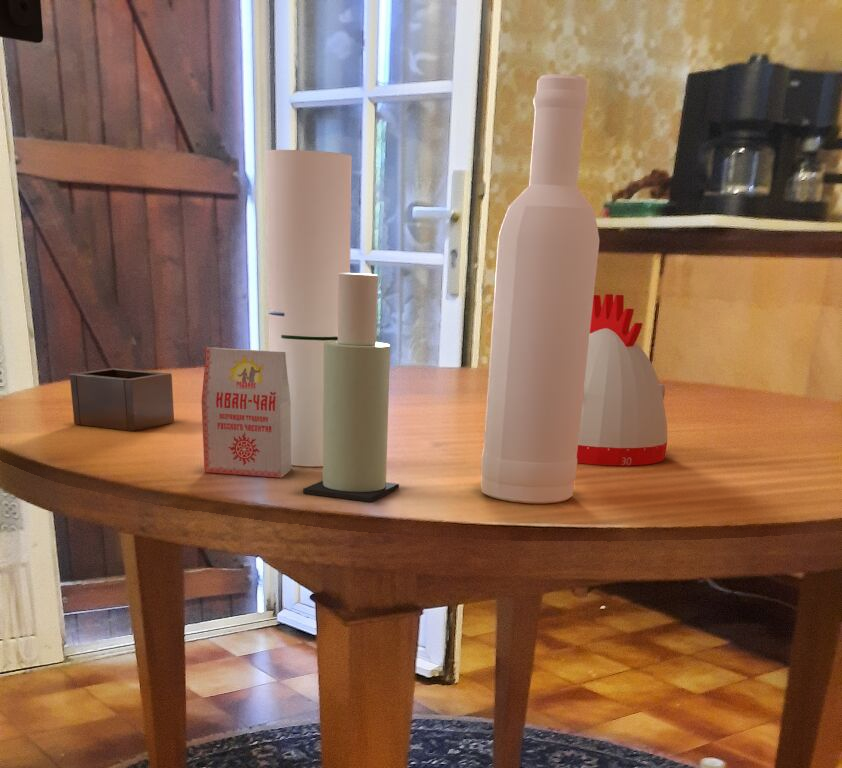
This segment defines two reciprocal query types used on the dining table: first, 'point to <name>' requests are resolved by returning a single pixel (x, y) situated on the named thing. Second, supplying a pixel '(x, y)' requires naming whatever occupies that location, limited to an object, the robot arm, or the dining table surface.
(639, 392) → the kitchen timer
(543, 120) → the bottle
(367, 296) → the bottle
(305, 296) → the cylindrical container
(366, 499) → the coaster
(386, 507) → the dining table surface
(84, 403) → the box
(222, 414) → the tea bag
